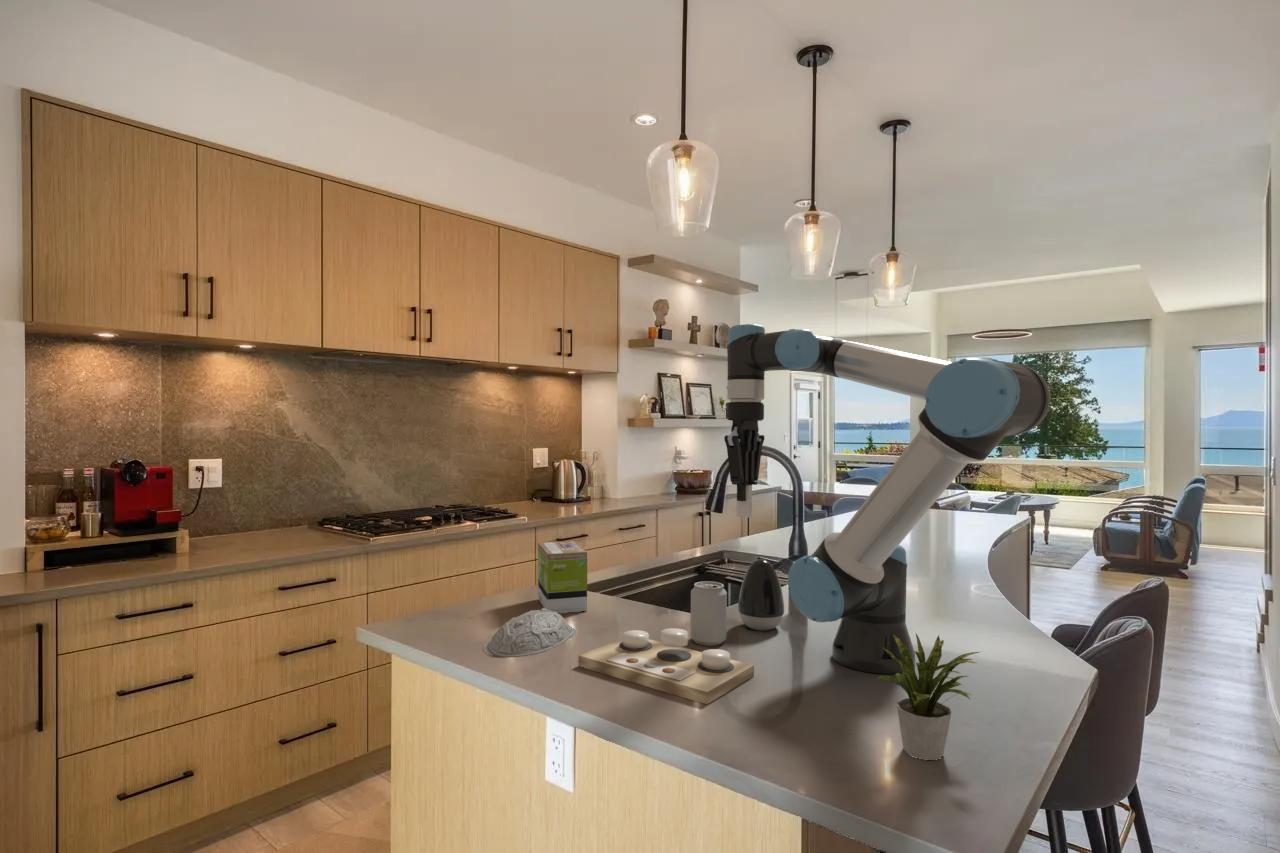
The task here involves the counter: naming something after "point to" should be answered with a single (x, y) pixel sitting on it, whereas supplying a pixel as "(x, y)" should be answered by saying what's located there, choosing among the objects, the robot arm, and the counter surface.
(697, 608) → the can
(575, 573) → the tea box
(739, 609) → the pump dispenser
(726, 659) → the button
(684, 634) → the button
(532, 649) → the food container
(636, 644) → the button
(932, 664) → the house plant
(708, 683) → the button board
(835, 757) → the counter surface
